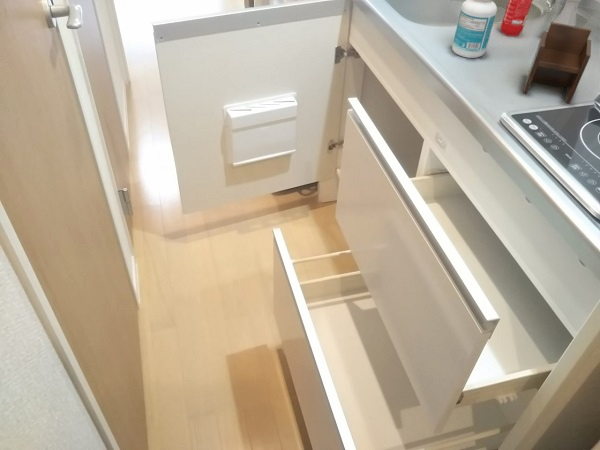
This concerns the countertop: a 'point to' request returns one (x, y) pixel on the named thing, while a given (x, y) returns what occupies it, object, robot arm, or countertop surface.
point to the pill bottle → (474, 28)
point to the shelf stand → (561, 57)
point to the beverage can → (515, 17)
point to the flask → (568, 13)
